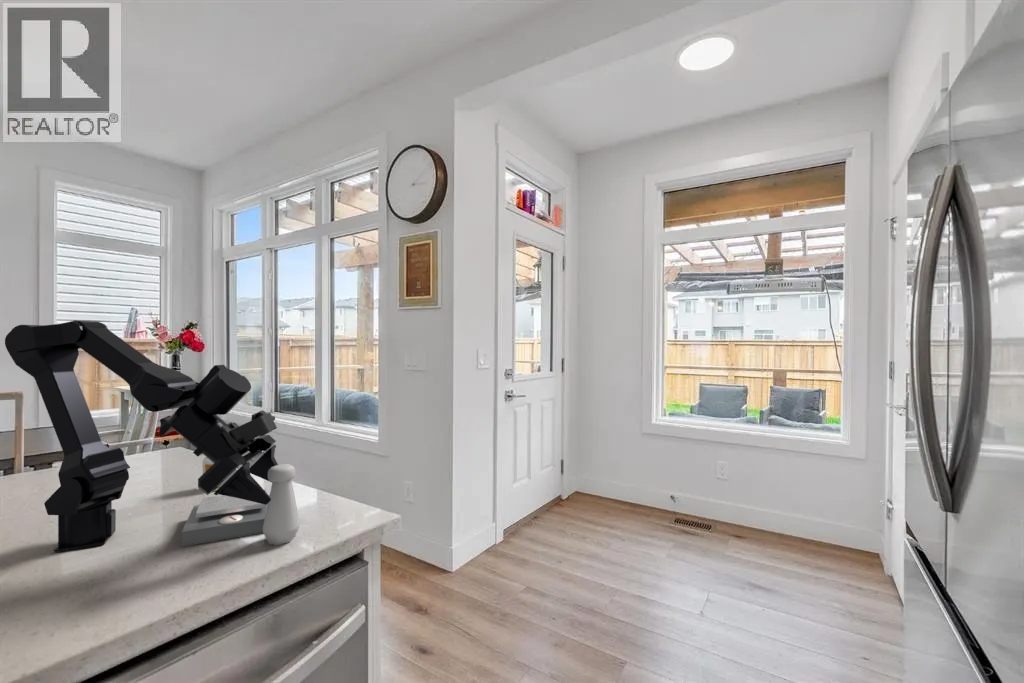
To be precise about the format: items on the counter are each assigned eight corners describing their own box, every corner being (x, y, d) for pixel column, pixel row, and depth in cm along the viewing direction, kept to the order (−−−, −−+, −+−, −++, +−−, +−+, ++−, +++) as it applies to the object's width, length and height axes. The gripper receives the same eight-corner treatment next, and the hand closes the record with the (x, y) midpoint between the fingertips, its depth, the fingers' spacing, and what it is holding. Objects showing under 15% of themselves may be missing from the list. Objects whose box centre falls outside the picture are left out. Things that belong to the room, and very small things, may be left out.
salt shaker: (284, 548, 76) (284, 471, 76) (254, 545, 78) (254, 469, 78) (306, 534, 82) (306, 462, 82) (278, 531, 83) (278, 460, 83)
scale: (181, 546, 77) (181, 529, 77) (193, 518, 90) (193, 503, 90) (274, 530, 84) (274, 514, 84) (274, 506, 96) (274, 492, 96)
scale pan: (195, 517, 82) (195, 513, 82) (202, 502, 89) (202, 498, 89) (265, 507, 87) (265, 503, 87) (266, 493, 95) (266, 489, 95)
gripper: (219, 405, 70) (297, 473, 72) (263, 392, 88) (324, 447, 90) (162, 460, 68) (243, 527, 70) (219, 435, 87) (282, 489, 89)
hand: (278, 493), depth 80 cm, fingers open, 9 cm apart
